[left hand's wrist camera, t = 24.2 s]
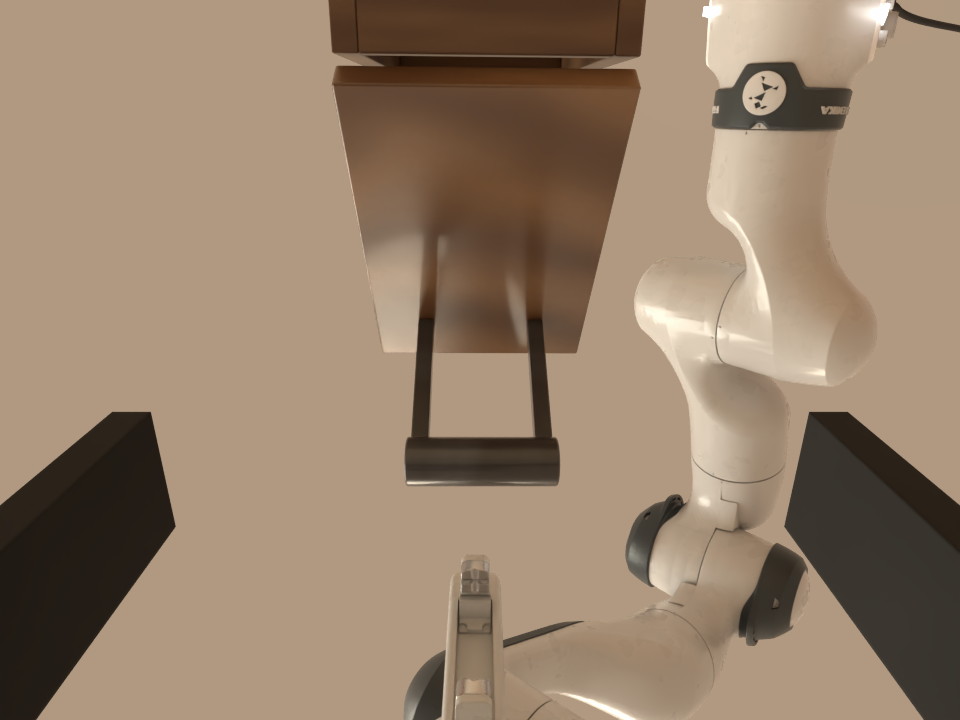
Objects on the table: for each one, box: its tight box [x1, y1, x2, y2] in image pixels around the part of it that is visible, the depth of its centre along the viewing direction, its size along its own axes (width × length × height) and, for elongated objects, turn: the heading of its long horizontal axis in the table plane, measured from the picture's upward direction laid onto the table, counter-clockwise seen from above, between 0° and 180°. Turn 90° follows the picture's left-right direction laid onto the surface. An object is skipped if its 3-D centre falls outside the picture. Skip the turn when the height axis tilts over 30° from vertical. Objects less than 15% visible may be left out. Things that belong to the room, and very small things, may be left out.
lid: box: [332, 66, 641, 486], centre depth 23 cm, size 14×10×9 cm
